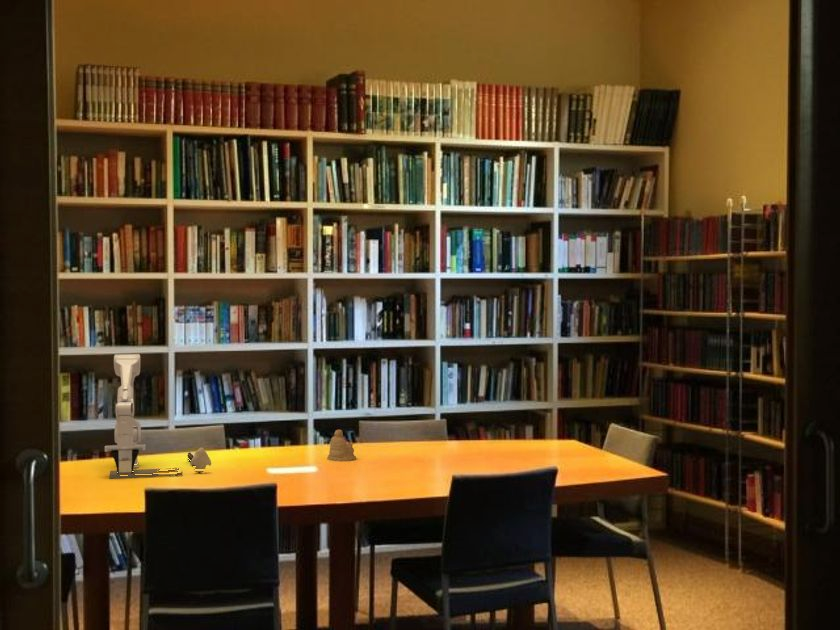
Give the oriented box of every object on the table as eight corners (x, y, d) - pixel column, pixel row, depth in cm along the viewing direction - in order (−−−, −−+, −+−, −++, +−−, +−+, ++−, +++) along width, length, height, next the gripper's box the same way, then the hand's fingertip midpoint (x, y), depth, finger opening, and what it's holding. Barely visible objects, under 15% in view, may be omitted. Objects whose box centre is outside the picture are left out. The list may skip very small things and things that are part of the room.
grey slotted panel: (110, 474, 400) (110, 470, 400) (181, 472, 406) (181, 467, 406) (109, 478, 392) (109, 474, 392) (182, 475, 398) (182, 471, 398)
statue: (316, 434, 432) (331, 424, 440) (323, 466, 436) (337, 455, 444) (340, 437, 425) (354, 427, 433) (346, 469, 429) (361, 458, 437)
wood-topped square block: (119, 473, 399) (119, 457, 399) (131, 473, 400) (131, 457, 400) (118, 476, 395) (118, 459, 394) (131, 475, 396) (131, 459, 395)
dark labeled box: (206, 459, 436) (206, 449, 436) (216, 470, 413) (216, 459, 413) (170, 461, 431) (170, 451, 431) (178, 472, 408) (178, 461, 408)
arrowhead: (190, 474, 402) (189, 447, 401) (189, 473, 404) (189, 446, 404) (211, 473, 404) (211, 447, 403) (211, 472, 406) (211, 446, 406)
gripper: (104, 436, 391) (104, 472, 392) (145, 434, 395) (145, 471, 395) (105, 433, 398) (105, 469, 398) (145, 431, 401) (145, 467, 402)
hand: (125, 470), depth 397 cm, fingers closed on wood-topped square block, 4 cm apart
